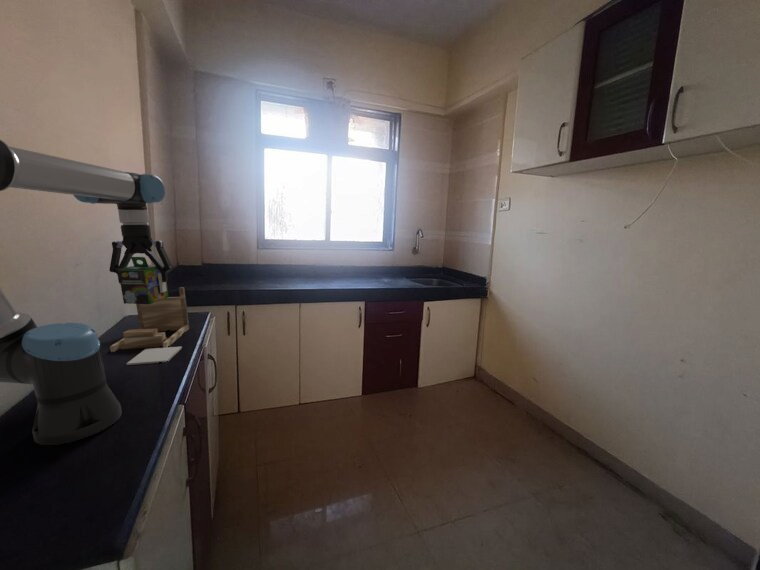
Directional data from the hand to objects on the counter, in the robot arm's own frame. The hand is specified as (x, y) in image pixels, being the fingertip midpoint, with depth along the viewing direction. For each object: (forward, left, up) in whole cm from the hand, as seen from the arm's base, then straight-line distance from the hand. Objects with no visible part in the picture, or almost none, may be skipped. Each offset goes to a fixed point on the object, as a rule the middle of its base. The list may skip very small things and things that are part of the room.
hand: (145, 292), depth 110 cm
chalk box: (0, 0, -3) cm, 3 cm away
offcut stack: (+11, +8, -22) cm, 26 cm away
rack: (+18, +8, -22) cm, 30 cm away
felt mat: (0, 0, -22) cm, 22 cm away
